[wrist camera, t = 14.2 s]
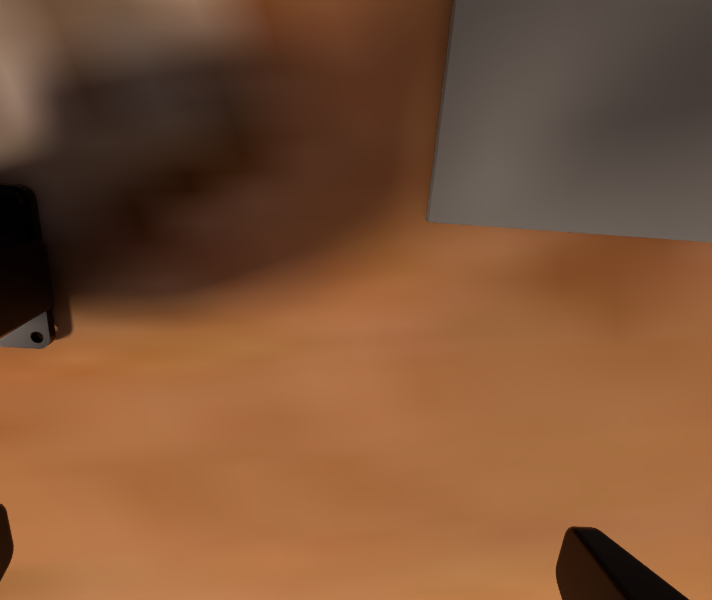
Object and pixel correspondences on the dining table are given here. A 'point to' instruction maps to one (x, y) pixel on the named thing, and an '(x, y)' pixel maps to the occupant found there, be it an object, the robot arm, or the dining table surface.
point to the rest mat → (577, 118)
